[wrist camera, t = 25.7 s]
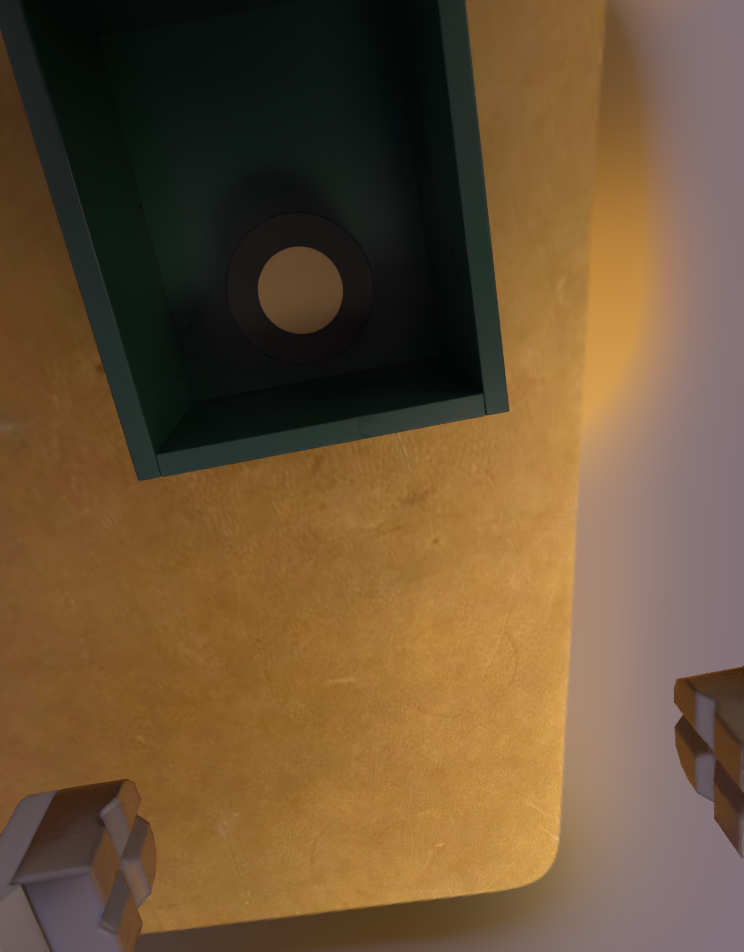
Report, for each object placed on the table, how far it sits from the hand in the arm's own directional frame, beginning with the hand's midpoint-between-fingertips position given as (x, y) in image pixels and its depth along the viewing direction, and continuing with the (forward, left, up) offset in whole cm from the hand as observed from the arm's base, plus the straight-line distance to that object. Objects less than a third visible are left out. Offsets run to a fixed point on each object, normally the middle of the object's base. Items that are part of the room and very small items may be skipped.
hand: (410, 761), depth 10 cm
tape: (+1, -6, -22) cm, 22 cm away
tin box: (+1, -9, -23) cm, 24 cm away
